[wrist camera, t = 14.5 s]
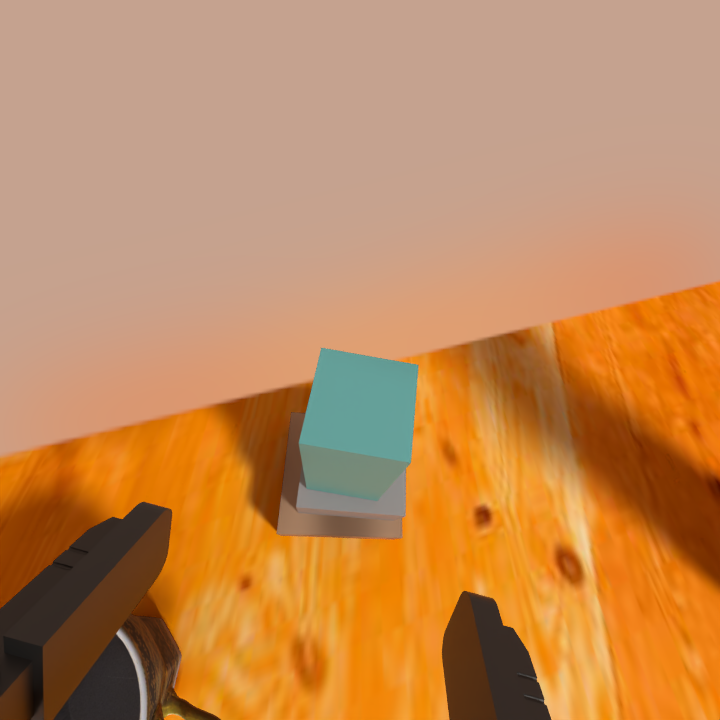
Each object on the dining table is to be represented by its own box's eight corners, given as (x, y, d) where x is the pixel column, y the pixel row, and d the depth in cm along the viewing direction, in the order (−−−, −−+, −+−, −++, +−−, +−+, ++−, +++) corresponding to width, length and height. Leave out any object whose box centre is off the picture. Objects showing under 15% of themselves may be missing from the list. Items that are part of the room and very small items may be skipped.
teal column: (385, 432, 26) (418, 365, 17) (377, 501, 23) (410, 462, 15) (320, 421, 26) (321, 347, 17) (306, 488, 23) (298, 443, 15)
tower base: (390, 432, 34) (399, 418, 31) (392, 539, 30) (402, 538, 26) (293, 426, 33) (291, 412, 30) (281, 535, 29) (276, 533, 26)
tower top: (395, 428, 30) (406, 412, 27) (393, 520, 27) (405, 516, 23) (311, 420, 30) (310, 403, 26) (298, 513, 26) (295, 507, 23)
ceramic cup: (8, 778, 21) (-206, 937, 13) (82, 580, 26) (-37, 596, 17) (231, 788, 22) (175, 944, 13) (263, 594, 27) (238, 616, 18)
